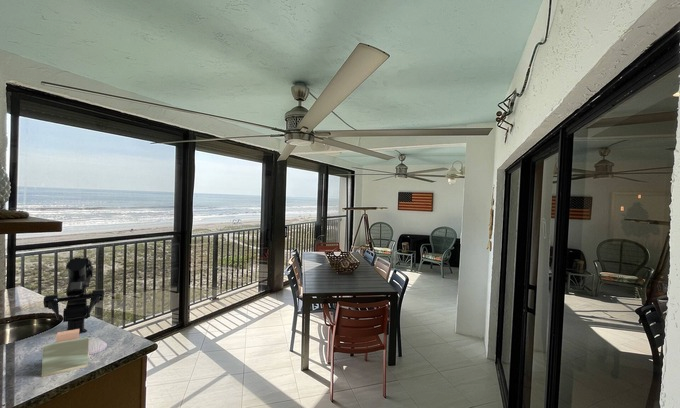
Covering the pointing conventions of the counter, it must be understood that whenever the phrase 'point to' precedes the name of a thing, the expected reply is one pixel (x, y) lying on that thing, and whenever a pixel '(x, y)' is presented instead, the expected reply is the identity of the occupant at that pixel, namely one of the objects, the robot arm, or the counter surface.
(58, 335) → the salmon pink block
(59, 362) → the pale green box
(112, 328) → the counter surface
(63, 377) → the counter surface
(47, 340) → the counter surface
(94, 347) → the seashell
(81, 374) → the counter surface
